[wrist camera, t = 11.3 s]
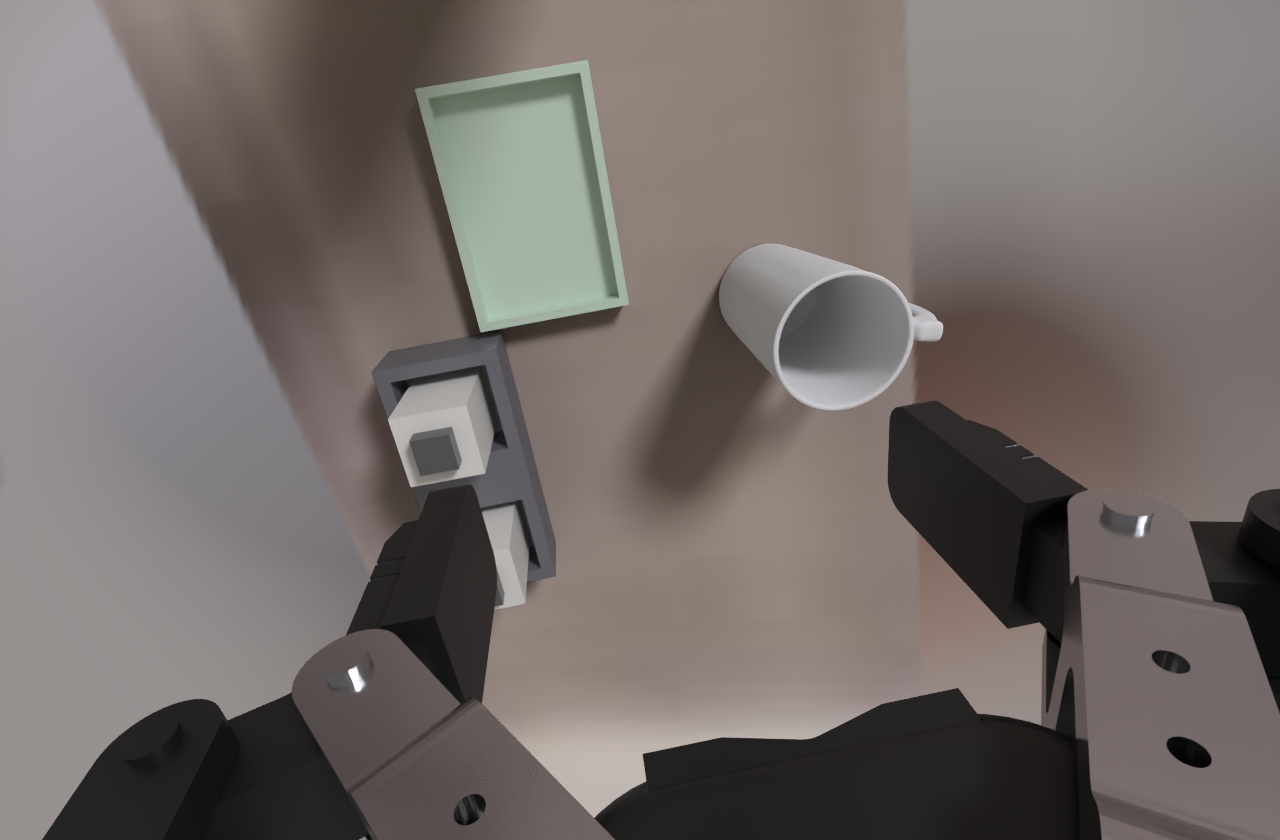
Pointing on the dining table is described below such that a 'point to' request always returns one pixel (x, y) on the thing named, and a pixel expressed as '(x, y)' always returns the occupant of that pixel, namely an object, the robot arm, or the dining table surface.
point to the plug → (444, 426)
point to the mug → (821, 324)
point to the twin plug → (508, 551)
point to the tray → (527, 193)
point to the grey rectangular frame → (511, 448)
